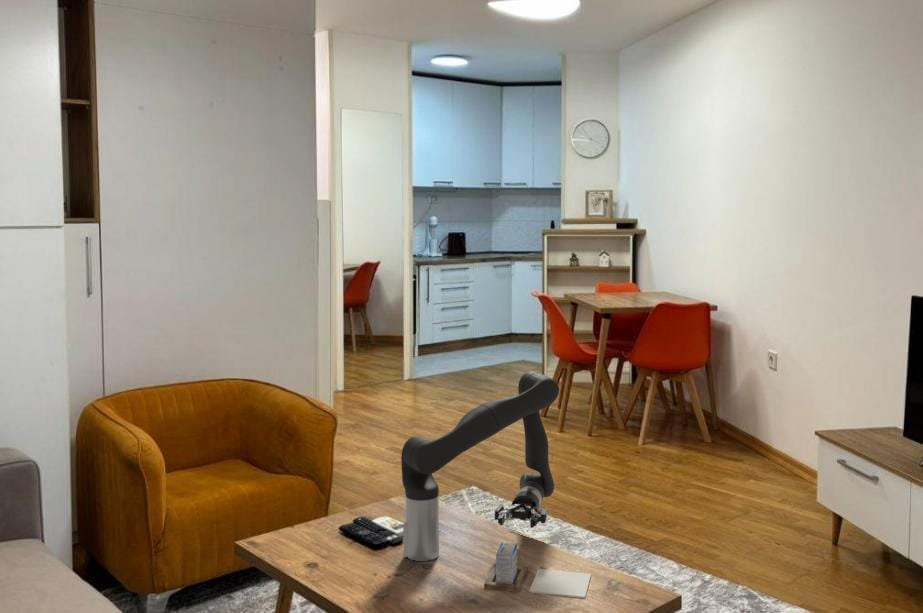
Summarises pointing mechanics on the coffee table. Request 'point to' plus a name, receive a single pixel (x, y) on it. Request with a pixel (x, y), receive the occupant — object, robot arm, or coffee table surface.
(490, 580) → the box holder
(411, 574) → the coffee table surface
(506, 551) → the medicine box
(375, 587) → the coffee table surface
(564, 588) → the grey mat
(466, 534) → the coffee table surface
